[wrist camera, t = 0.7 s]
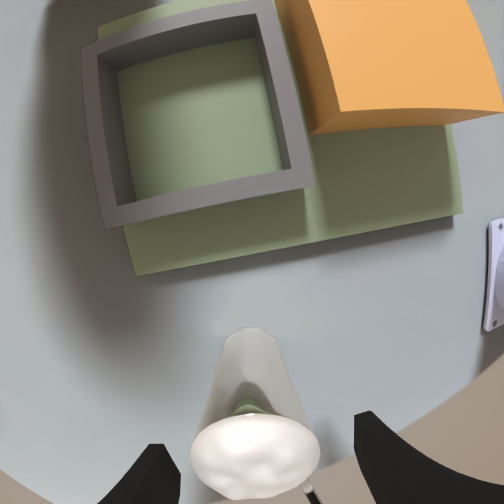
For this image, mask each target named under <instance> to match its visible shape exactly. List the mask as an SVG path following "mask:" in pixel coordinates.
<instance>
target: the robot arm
mask: <svg viewBox="0 0 504 504" xmlns="http://www.w3.org/2000/svg"><path fill="white" fill-rule="evenodd" d="M499 225H500V227H499ZM503 324H504V218H500V219H496V220H492V221H491V222H490V224H489V264H488V285H487V298H486V309H485V318H484V325H483V328H484V330H486V331H487V332H489V331H491V330H493V329H495V328H497V327H499V326H501V325H503ZM354 450H355V454H356V457H357V460H358V463H359V466H360V469H361V472H362V474H363V476H364V478H365V480H366V482H367V485H368V487H369V489H370V491H371V493H372V495H373V497H374V500H375V502H376V504H504V485H499V484H493V483H489V482H485V481H481V480H478V479H475V478H472V477H469V476H466V475H464V474H461V473H458V472H456V471H454V470H452V469H449V468H447V467H445V466H443V465H441V464H439V463H437V462H436V461H434V460H432V459H430V458H428V457H427V456H425V455H424V454H423V453H421V452H419V451H418V450H416V449H415V448H414V447H412V446H411V445H410V444H408V443H407V442H406V441H404V440H403V439H402V438H401V437H399V436H398V435H397V434H396V433H394V432H393V431H392V430H391V429H390V428H389V427H388V426H386V425H385V424H384V423H383V422H382V421H381V420H380V419H379V418H378V417H377V416H376V415H375V414H374V413H373V412H372V411H367V412H363V413H360V414H357V415H354ZM180 483H181V473H180V472H179V470H178V468H177V467H176V465H175V463H174V462H173V460H172V458H171V456H170V455H169V453H168V451H167V449H166V447H165V446H164V444H149V445H148V446H147V448H146V449H145V450H144V451H143V453H142V454H141V455H140V456H139V458H138V459H137V460H136V462H135V463H134V464H133V465H132V467H131V468H130V469H129V470H128V472H127V473H126V474H125V475H124V476H123V478H122V479H121V480H120V481H119V482H118V483H117V484H116V486H115V487H114V488H113V489H112V490H111V491H110V492H109V493H108V494H107V495H106V496H105V497H104V498H103V499H102V500H101V501H100V502H99V503H98V504H178V503H179V497H180Z"/></svg>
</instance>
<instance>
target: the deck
mask: <svg viewBox="0 0 504 504" xmlns="http://www.w3.org/2000/svg"><path fill="white" fill-rule="evenodd" d="M97 30H98V40H97V41H95V42H93V43H90V44H88V45H86V46H83V47H81V61H82V82H83V96H84V108H85V118H86V127H87V135H88V143H89V150H90V157H91V163H92V169H93V175H94V181H95V186H96V192H97V197H98V202H99V207H100V211H101V216H102V220H103V225H104V229H105V230H107V229H111V228H115V227H119V226H123V228H124V233H125V237H126V241H127V245H128V249H129V253H130V257H131V261H132V264H133V268H134V272H135V275H136V276H141V275H146V274H151V273H156V272H162V271H167V270H172V269H177V268H182V267H188V266H193V265H198V264H203V263H209V262H214V261H219V260H224V259H229V258H235V257H240V256H245V255H250V254H255V253H261V252H266V251H271V250H276V249H281V248H287V247H292V246H297V245H302V244H307V243H313V242H318V241H323V240H328V239H333V238H338V237H343V236H349V235H354V234H359V233H364V232H369V231H374V230H380V229H385V228H390V227H395V226H400V225H405V224H410V223H415V222H421V221H426V220H431V219H436V218H441V217H446V216H451V215H456V214H461V213H463V208H462V196H461V186H460V177H459V170H458V163H457V156H456V150H455V144H454V138H453V133H452V128H451V124H452V123H457V122H461V121H465V120H470V119H475V118H479V117H484V116H489V115H494V114H499V113H504V105H503V101H502V97H501V93H500V89H499V86H498V82H497V79H496V75H495V72H494V69H493V66H492V63H491V60H490V57H489V54H488V51H487V48H486V46H485V43H484V40H483V38H482V35H481V33H480V30H479V28H478V25H477V23H476V21H475V19H474V16H473V14H472V12H471V10H470V8H469V5H468V3H467V1H466V0H178V1H174V2H170V3H167V4H163V5H159V6H156V7H153V8H149V9H146V10H143V11H140V12H137V13H134V14H131V15H128V16H125V17H122V18H120V19H117V20H114V21H112V22H109V23H107V24H104V25H102V26H99V27H97Z"/></svg>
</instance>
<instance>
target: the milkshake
mask: <svg viewBox="0 0 504 504" xmlns="http://www.w3.org/2000/svg"><path fill="white" fill-rule="evenodd" d="M190 459H191V464H192V468H193V470H194V472H195V474H196V475H197V477H198V478H199V479H200V480H201V481H202V482H203V483H204V484H206V485H207V486H209V487H210V488H212V489H214V490H215V491H217V492H218V493H220V494H222V495H223V496H225V497H227V498H228V499H231V500H244V499H250V498H271V497H274V496H277V495H279V494H281V493H283V492H285V491H288V490H290V489H293V488H295V487H296V486H298V485H300V487H301V488H302V490H303V492H304V494H305V495H306V497H307V499H308V501H309V503H310V504H322V502H321V500H320V499H319V497H318V496H317V493H316V492H315V490H314V489H313V487H312V485H311V483H310V481H309V479H308V477H309V476H310V475H311V474H312V472H313V471H314V470H315V469H316V467H317V465H318V463H319V459H320V447H319V443H318V440H317V438H316V436H315V434H314V431H313V429H312V427H311V424H310V422H309V420H308V417H307V415H306V413H305V411H304V408H303V406H302V404H301V402H300V399H299V397H298V395H297V393H296V391H295V388H294V386H293V383H292V381H291V378H290V376H289V373H288V370H287V367H286V365H285V362H284V359H283V356H282V354H281V351H280V348H279V345H278V343H277V340H276V338H275V337H274V336H272V335H271V334H269V333H268V332H266V331H265V330H263V329H262V328H240V329H239V330H237V331H236V332H234V333H232V334H231V335H229V336H227V337H226V340H225V343H224V345H223V348H222V351H221V353H220V357H219V360H218V364H217V368H216V371H215V375H214V379H213V382H212V386H211V390H210V393H209V397H208V400H207V402H206V404H205V407H204V410H203V413H202V416H201V419H200V422H199V425H198V428H197V431H196V434H195V437H194V440H193V443H192V446H191V451H190Z"/></svg>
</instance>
